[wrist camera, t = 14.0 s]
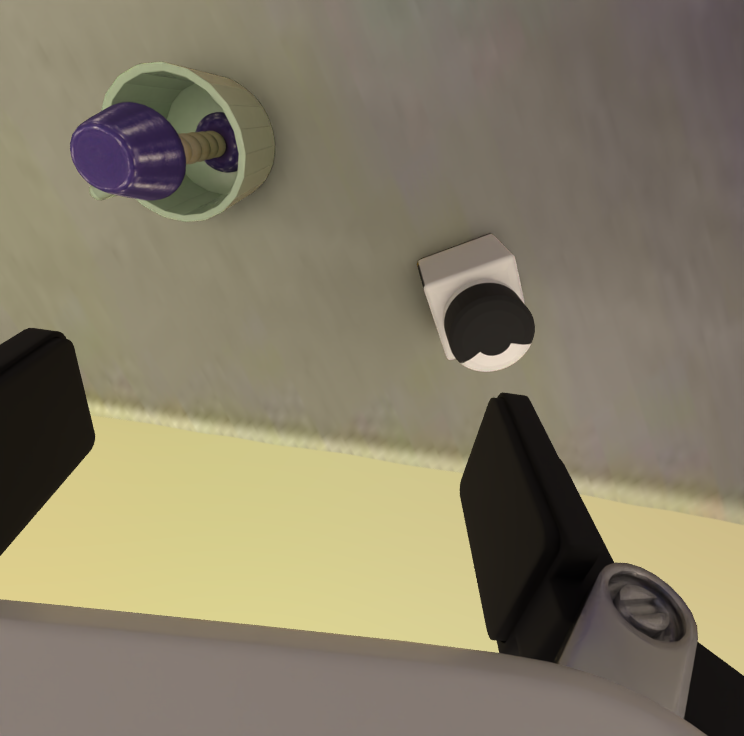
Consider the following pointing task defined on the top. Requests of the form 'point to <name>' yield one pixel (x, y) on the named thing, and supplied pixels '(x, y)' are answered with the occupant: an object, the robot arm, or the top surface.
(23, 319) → the top surface
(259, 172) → the mug
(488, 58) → the top surface
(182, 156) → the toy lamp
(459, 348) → the medicine bottle
